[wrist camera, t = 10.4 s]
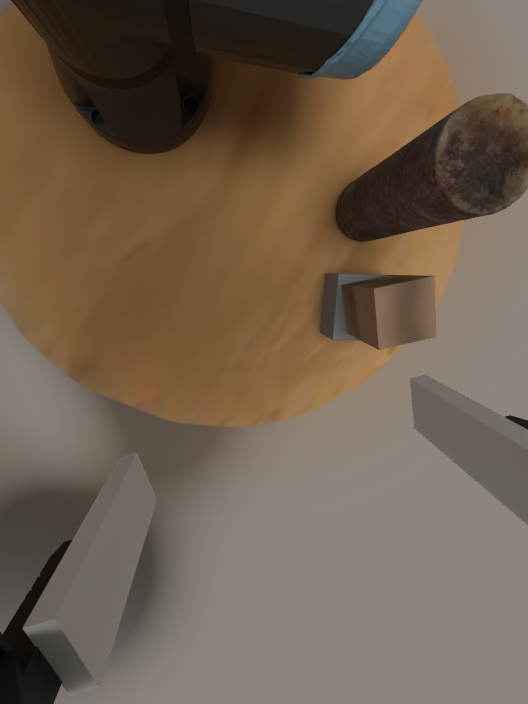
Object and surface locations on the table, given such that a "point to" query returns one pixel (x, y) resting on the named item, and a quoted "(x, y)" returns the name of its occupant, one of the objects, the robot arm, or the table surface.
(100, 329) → the table surface
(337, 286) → the base block
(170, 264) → the table surface
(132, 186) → the table surface
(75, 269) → the table surface
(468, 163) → the candle
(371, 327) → the walnut block
